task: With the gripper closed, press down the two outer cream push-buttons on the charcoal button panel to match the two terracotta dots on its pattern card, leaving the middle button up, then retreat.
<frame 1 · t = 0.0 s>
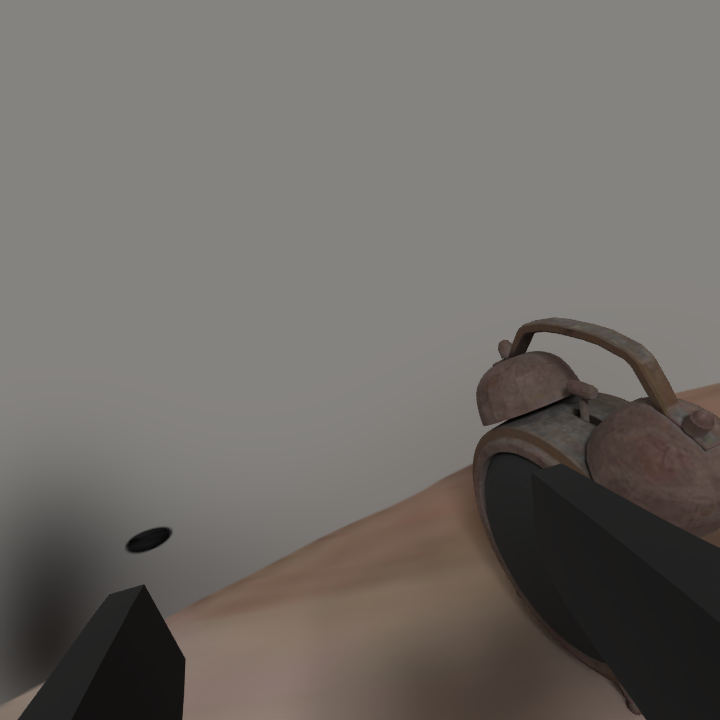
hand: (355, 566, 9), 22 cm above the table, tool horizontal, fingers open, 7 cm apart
alarm clock: (593, 639, 29), on the table
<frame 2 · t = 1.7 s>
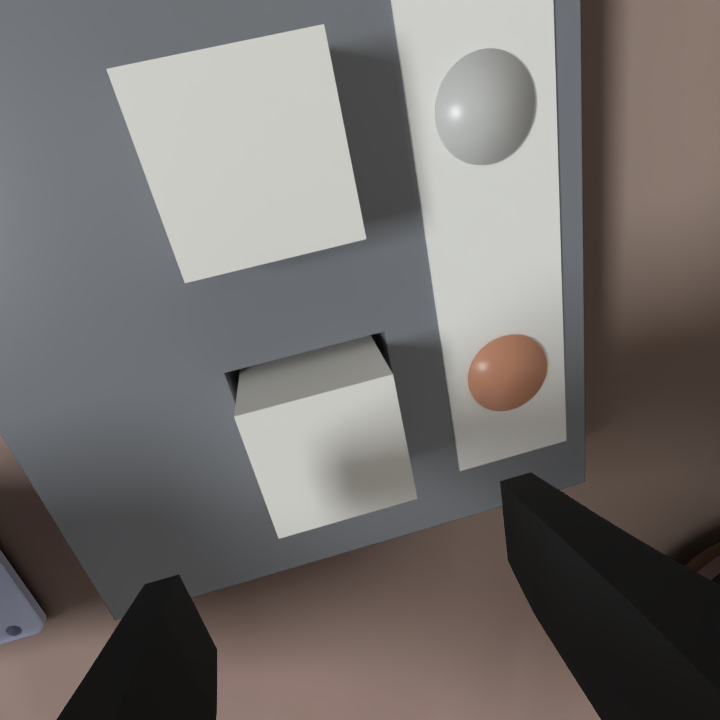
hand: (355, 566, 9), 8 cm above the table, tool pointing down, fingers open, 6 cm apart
button panel: (255, 161, 14), on the table
button a: (325, 428, 13), point 3 cm above the table, slide at 0.0 cm
button b: (252, 162, 11), point 3 cm above the table, slide at 0.0 cm
alarm clock: (696, 555, 24), on the table
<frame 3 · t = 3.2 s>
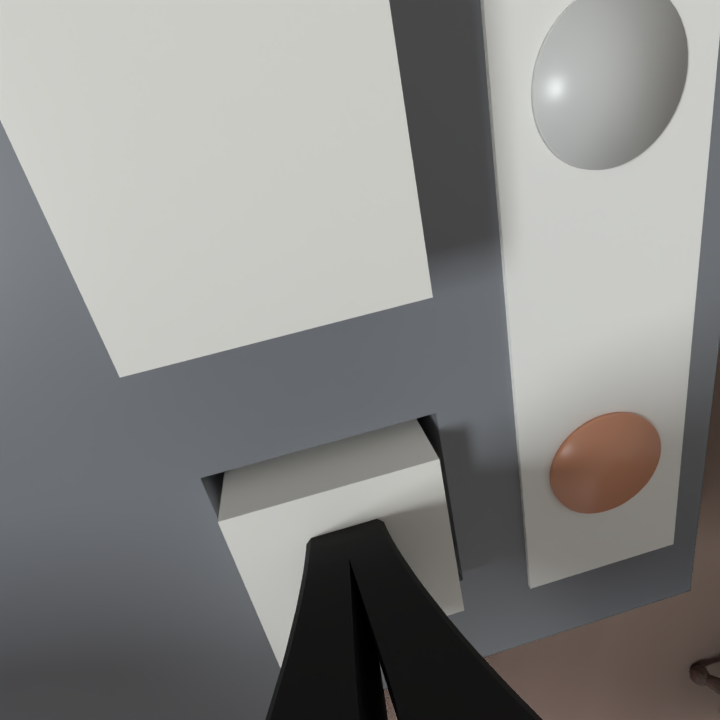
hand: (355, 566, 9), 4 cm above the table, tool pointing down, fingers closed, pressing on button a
button panel: (248, 163, 9), on the table
button a: (341, 512, 10), point 2 cm above the table, slide at 1.1 cm, touching gripper
button b: (238, 165, 6), point 3 cm above the table, slide at 0.0 cm
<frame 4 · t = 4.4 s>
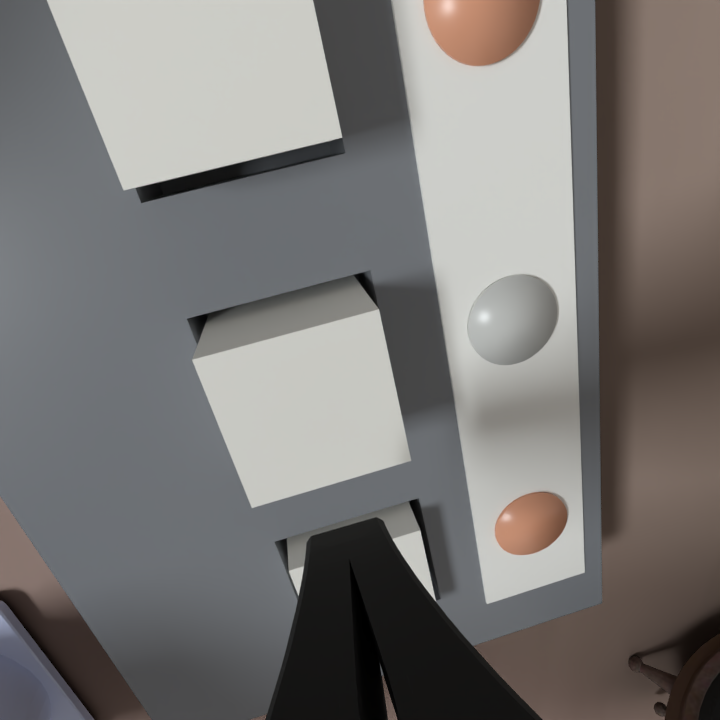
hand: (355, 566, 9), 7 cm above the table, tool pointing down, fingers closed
button c: (206, 54, 9), point 3 cm above the table, slide at 0.0 cm
button panel: (297, 336, 15), on the table
button a: (359, 556, 16), point 2 cm above the table, slide at 1.1 cm
button b: (305, 383, 12), point 3 cm above the table, slide at 0.0 cm
alarm clock: (705, 634, 25), on the table
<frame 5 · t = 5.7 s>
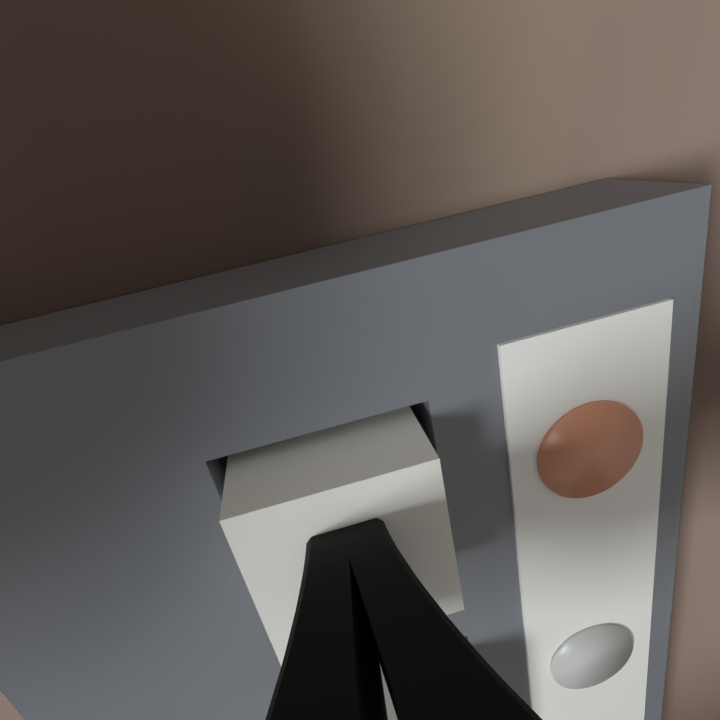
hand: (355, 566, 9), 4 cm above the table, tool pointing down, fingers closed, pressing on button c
button c: (342, 511, 10), point 3 cm above the table, slide at 0.6 cm, touching gripper
button panel: (376, 617, 16), on the table
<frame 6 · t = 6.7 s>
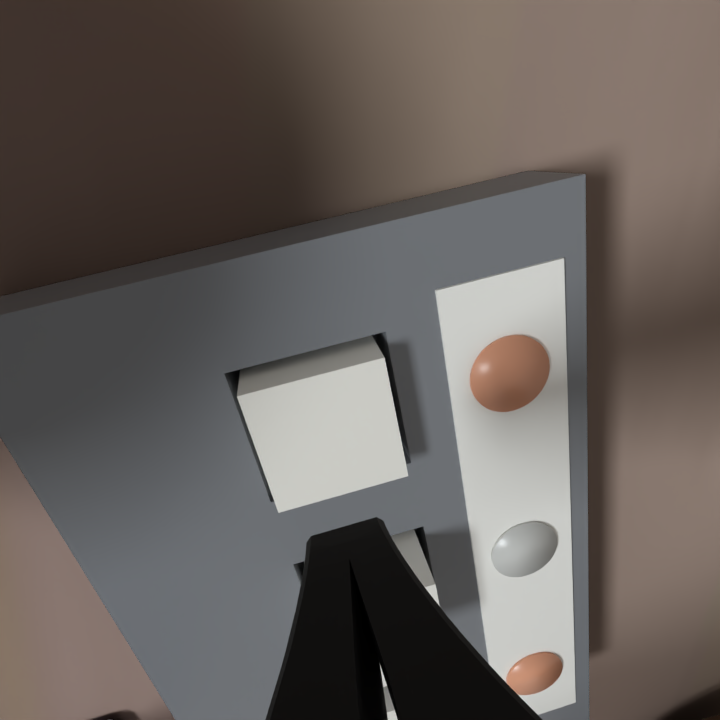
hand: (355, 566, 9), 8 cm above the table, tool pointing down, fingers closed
button c: (322, 410, 14), point 2 cm above the table, slide at 1.1 cm
button panel: (357, 530, 19), on the table
button a: (400, 694, 20), point 2 cm above the table, slide at 1.1 cm
button b: (374, 601, 16), point 3 cm above the table, slide at 0.0 cm
alarm clock: (678, 719, 30), on the table
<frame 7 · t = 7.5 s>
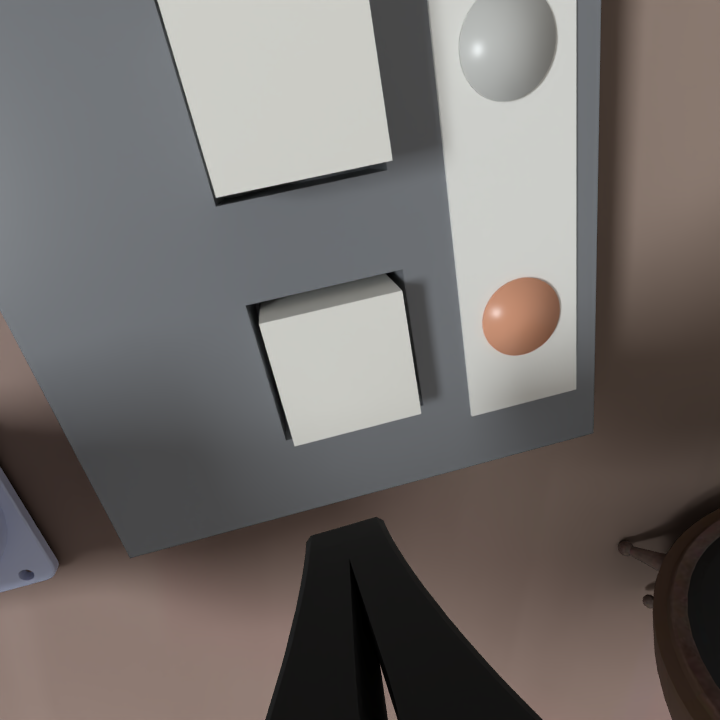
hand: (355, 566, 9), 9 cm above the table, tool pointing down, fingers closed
button panel: (278, 102, 14), on the table
button a: (338, 350, 15), point 2 cm above the table, slide at 1.1 cm
button b: (281, 87, 11), point 3 cm above the table, slide at 0.0 cm
alarm clock: (697, 524, 24), on the table
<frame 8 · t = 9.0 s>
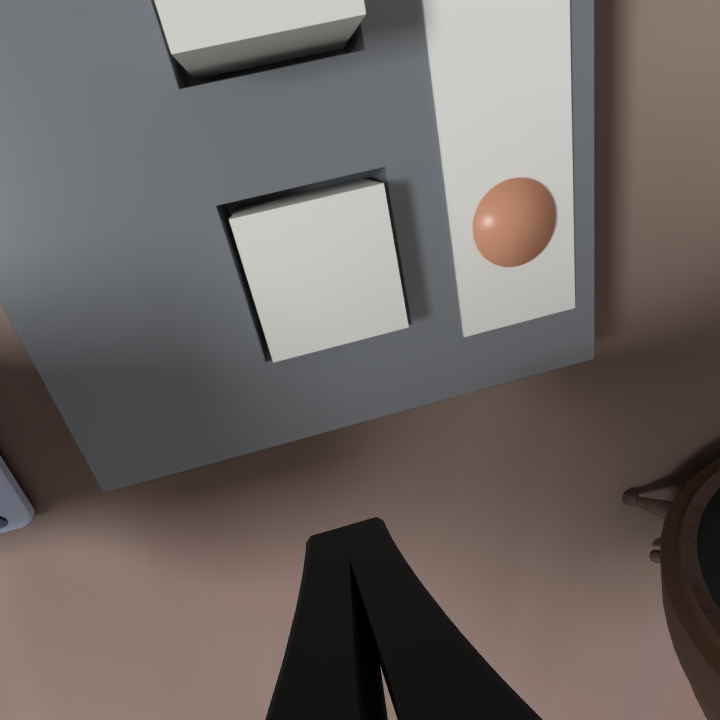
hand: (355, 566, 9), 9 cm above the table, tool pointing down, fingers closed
button a: (319, 264, 14), point 2 cm above the table, slide at 1.1 cm
alarm clock: (705, 474, 23), on the table
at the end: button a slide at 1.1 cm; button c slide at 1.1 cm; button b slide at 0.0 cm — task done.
